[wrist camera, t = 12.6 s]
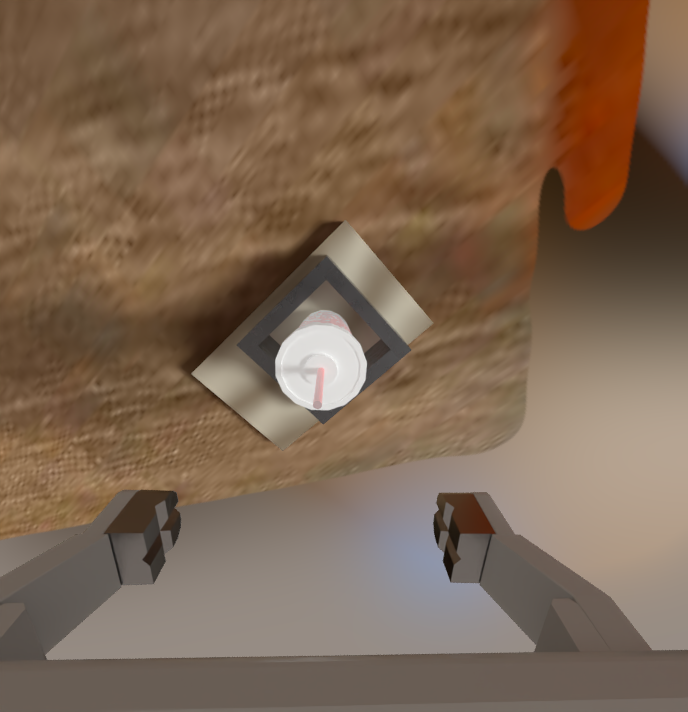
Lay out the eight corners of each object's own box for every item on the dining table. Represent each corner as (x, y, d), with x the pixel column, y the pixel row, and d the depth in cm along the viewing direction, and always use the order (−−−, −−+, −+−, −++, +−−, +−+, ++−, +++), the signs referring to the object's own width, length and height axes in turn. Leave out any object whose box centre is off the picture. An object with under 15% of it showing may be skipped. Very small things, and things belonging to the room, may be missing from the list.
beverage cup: (353, 296, 29) (369, 339, 16) (361, 360, 31) (382, 446, 18) (285, 306, 29) (244, 358, 16) (298, 369, 31) (271, 462, 18)
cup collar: (248, 332, 30) (236, 345, 26) (327, 254, 28) (326, 256, 24) (324, 403, 32) (323, 424, 28) (401, 336, 30) (411, 350, 26)
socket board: (199, 366, 33) (191, 373, 31) (344, 221, 29) (345, 219, 27) (285, 440, 36) (282, 451, 34) (427, 318, 32) (433, 323, 30)
